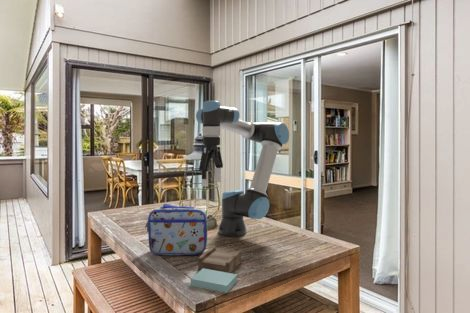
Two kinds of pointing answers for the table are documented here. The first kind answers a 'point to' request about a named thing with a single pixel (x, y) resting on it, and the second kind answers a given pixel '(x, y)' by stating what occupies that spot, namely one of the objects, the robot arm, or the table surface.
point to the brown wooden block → (219, 260)
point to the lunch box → (177, 230)
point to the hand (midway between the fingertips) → (211, 184)
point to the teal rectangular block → (214, 280)
